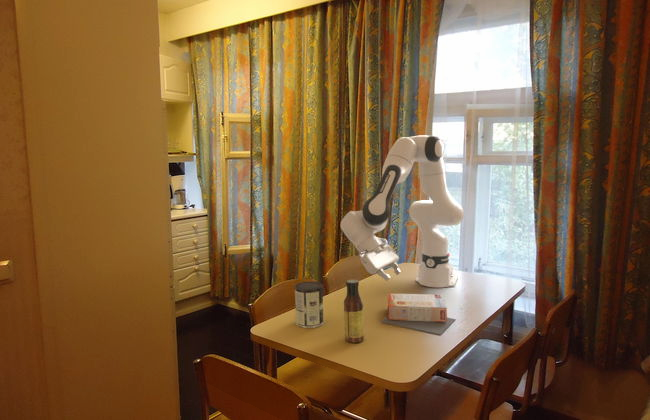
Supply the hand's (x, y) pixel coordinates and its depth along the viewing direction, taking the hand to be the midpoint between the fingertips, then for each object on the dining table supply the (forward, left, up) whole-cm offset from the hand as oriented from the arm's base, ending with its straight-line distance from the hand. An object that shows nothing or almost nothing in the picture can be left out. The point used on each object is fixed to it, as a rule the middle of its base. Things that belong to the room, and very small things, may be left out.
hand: (394, 276), depth 160 cm
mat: (0, +10, -15) cm, 18 cm away
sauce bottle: (+26, -2, -16) cm, 30 cm away
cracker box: (0, -3, -12) cm, 12 cm away
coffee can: (+22, -23, -16) cm, 36 cm away
